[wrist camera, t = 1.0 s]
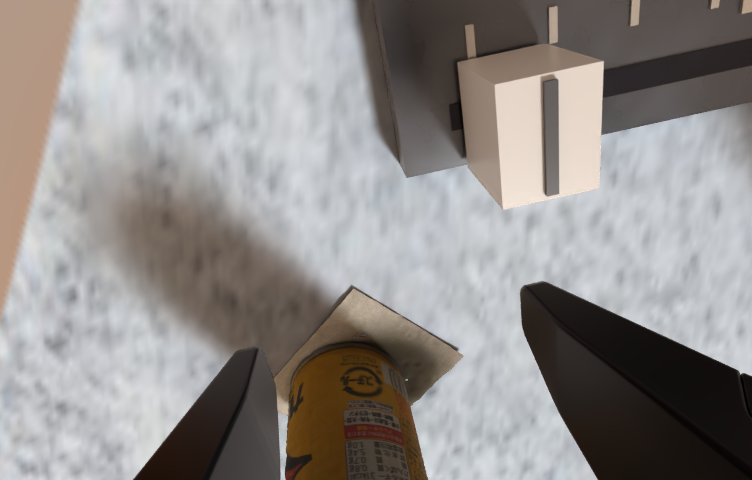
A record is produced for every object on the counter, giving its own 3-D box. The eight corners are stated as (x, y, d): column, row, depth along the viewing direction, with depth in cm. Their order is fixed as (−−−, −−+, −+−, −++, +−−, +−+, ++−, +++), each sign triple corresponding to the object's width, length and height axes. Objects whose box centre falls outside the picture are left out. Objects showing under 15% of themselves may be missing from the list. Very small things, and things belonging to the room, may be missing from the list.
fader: (545, 43, 18) (606, 61, 14) (547, 149, 20) (601, 189, 16) (457, 62, 18) (496, 85, 14) (467, 167, 20) (504, 212, 16)
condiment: (254, 398, 26) (221, 681, 16) (353, 286, 24) (391, 534, 13) (363, 448, 29) (396, 716, 19) (462, 351, 27) (564, 599, 16)
